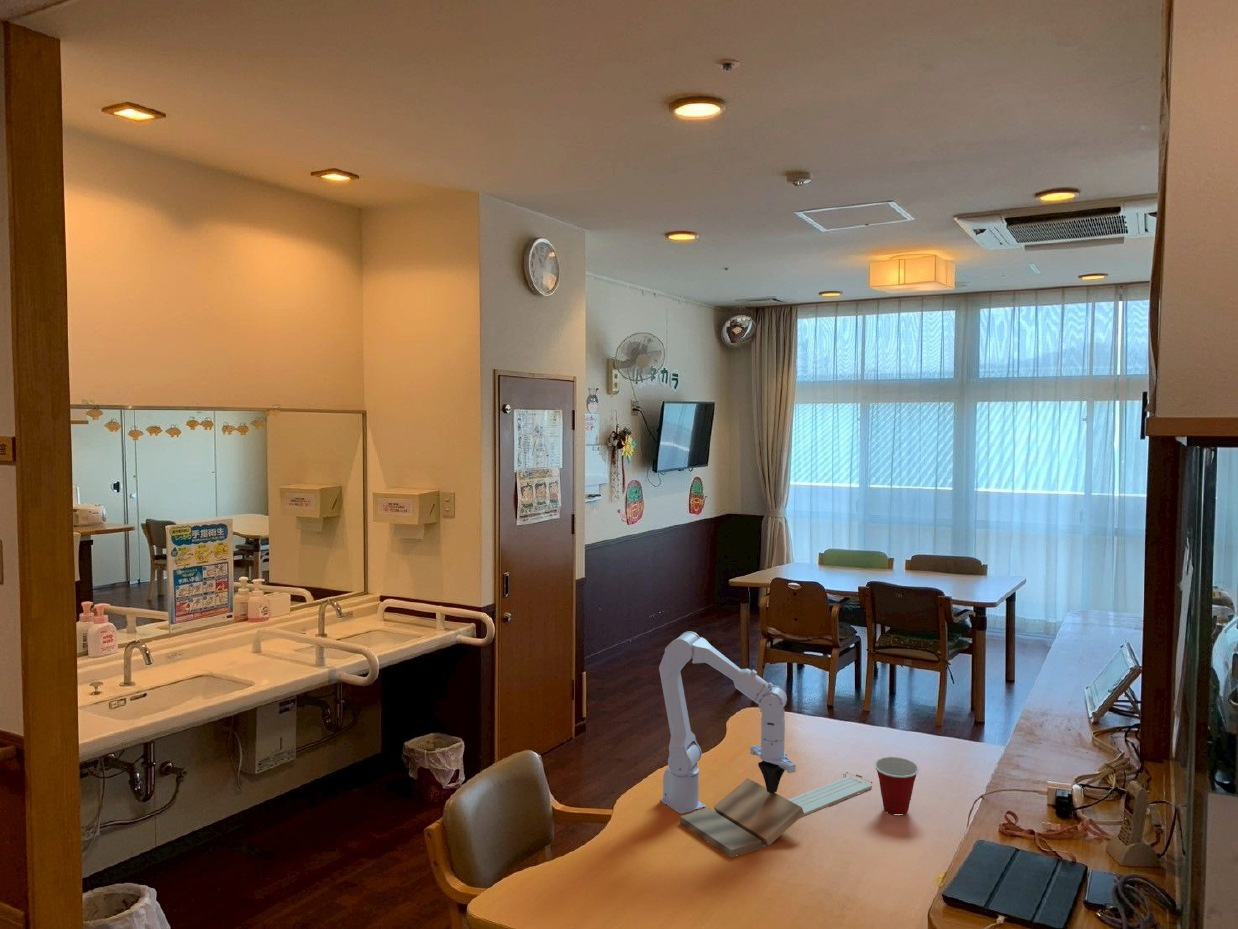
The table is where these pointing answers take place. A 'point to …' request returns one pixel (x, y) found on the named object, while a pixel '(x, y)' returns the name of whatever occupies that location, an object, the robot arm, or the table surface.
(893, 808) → the plastic cup
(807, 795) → the baseboard
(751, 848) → the floor panel
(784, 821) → the plank
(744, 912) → the table surface
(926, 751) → the table surface
